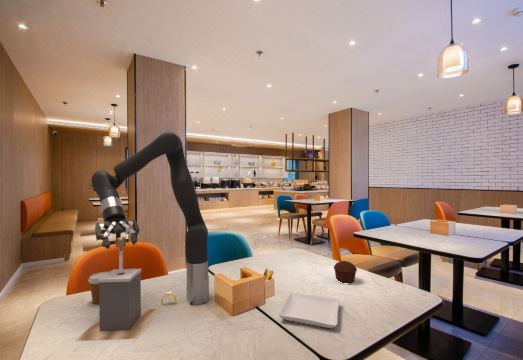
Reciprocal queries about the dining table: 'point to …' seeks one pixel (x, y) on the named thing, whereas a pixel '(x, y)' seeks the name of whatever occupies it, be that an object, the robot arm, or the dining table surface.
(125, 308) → the block
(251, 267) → the dining table surface
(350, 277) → the muffin
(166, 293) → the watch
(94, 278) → the disposable coffee cup
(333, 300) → the salad plate
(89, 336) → the oak board
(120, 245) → the plunger
